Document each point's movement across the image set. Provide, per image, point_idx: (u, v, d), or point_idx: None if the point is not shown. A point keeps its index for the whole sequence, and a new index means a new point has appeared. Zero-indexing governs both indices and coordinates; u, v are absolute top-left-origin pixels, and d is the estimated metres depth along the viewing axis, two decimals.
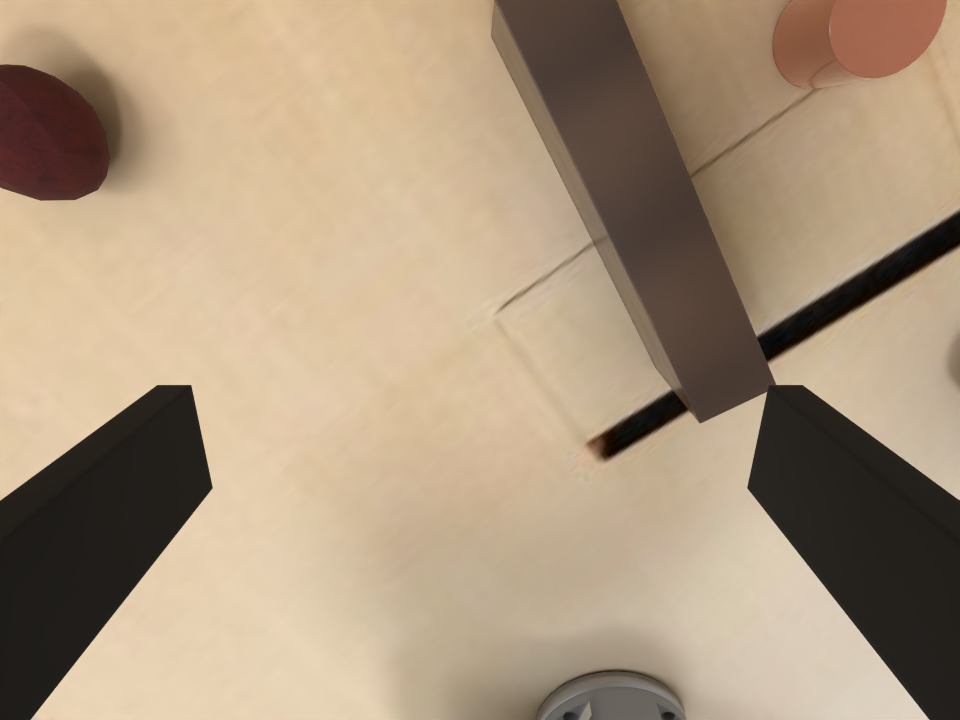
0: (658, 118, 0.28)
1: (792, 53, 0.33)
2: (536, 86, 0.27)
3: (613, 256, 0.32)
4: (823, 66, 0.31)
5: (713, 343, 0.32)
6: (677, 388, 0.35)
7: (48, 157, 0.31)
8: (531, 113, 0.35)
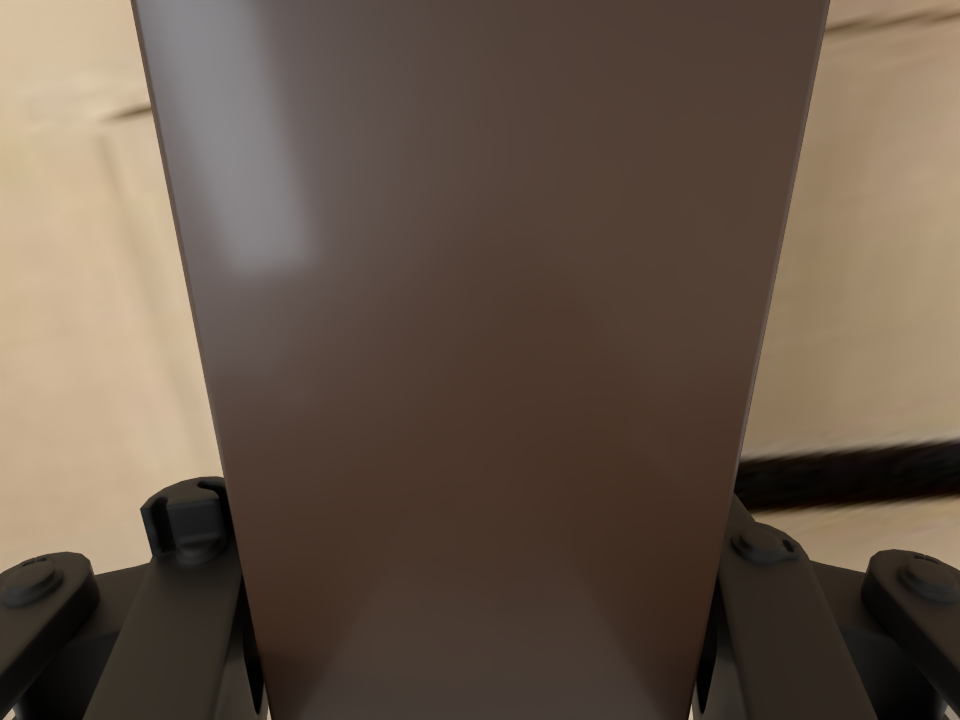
0: None
1: None
2: None
3: None
4: None
5: (497, 657, 0.06)
6: None
7: None
8: None
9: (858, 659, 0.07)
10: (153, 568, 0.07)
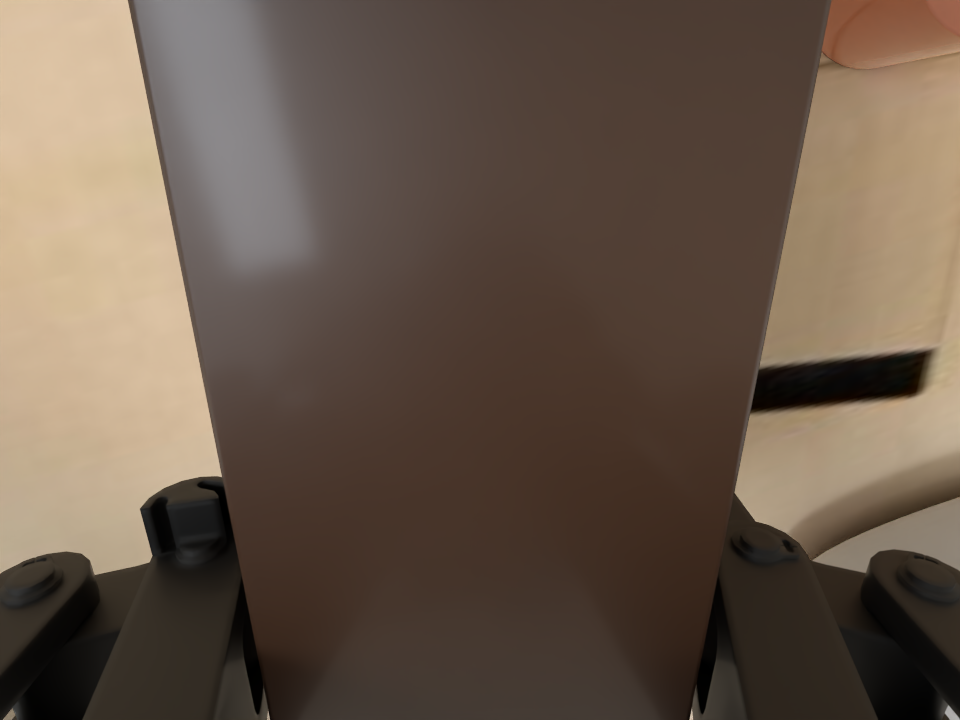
0: None
1: None
2: None
3: None
4: None
5: (498, 658, 0.06)
6: None
7: None
8: None
9: (858, 659, 0.07)
10: (153, 567, 0.07)
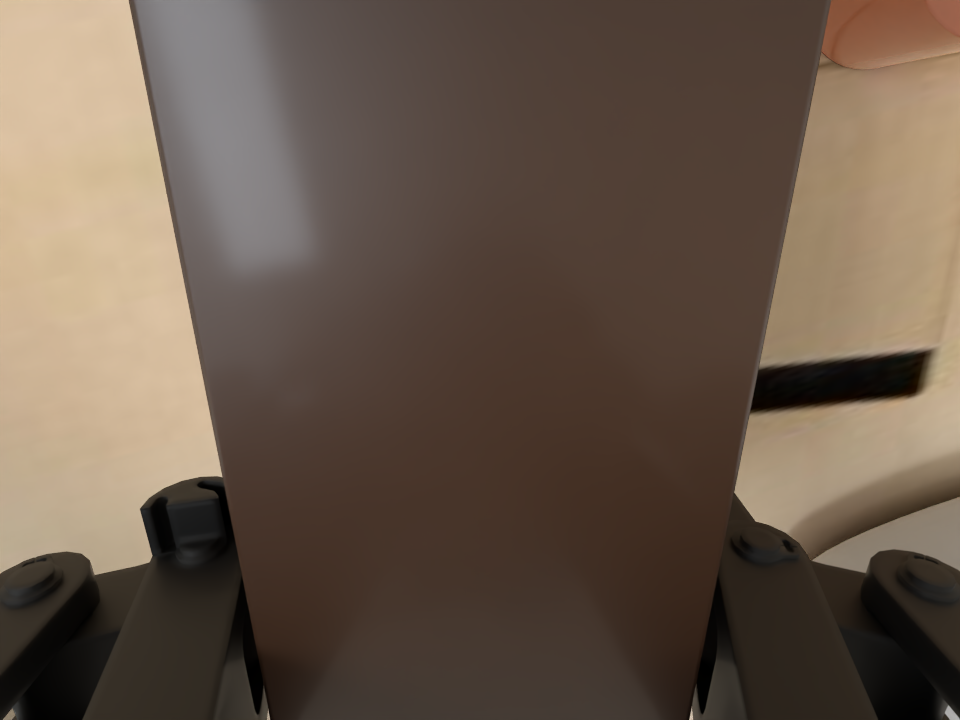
0: None
1: None
2: None
3: None
4: None
5: (497, 657, 0.06)
6: None
7: None
8: None
9: (858, 659, 0.07)
10: (153, 568, 0.07)
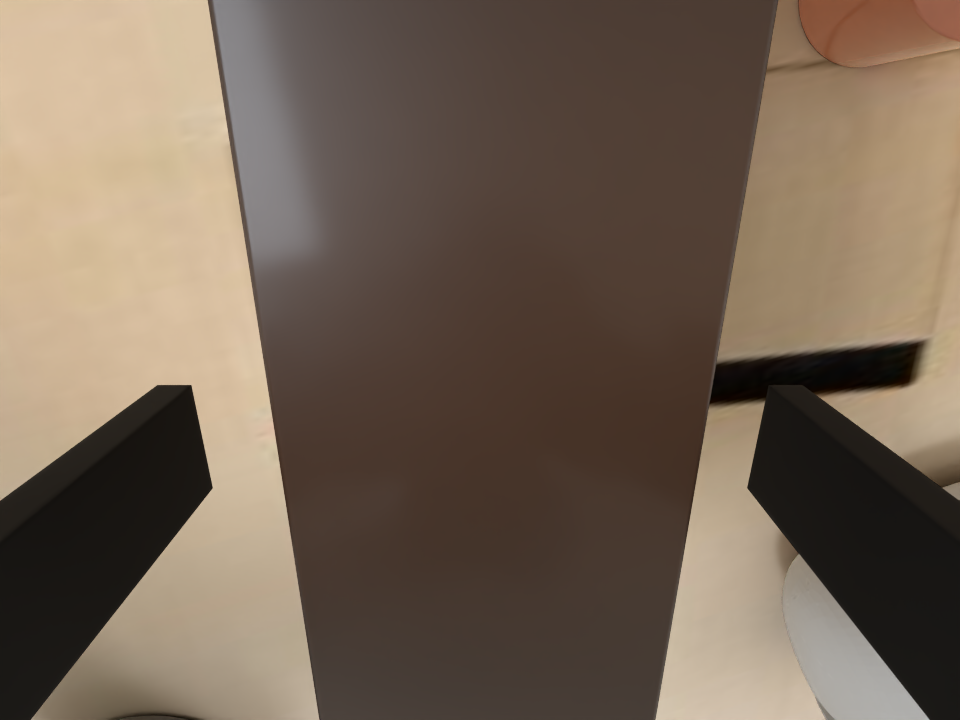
0: None
1: None
2: None
3: None
4: None
5: (503, 575, 0.07)
6: None
7: None
8: None
9: None
10: None
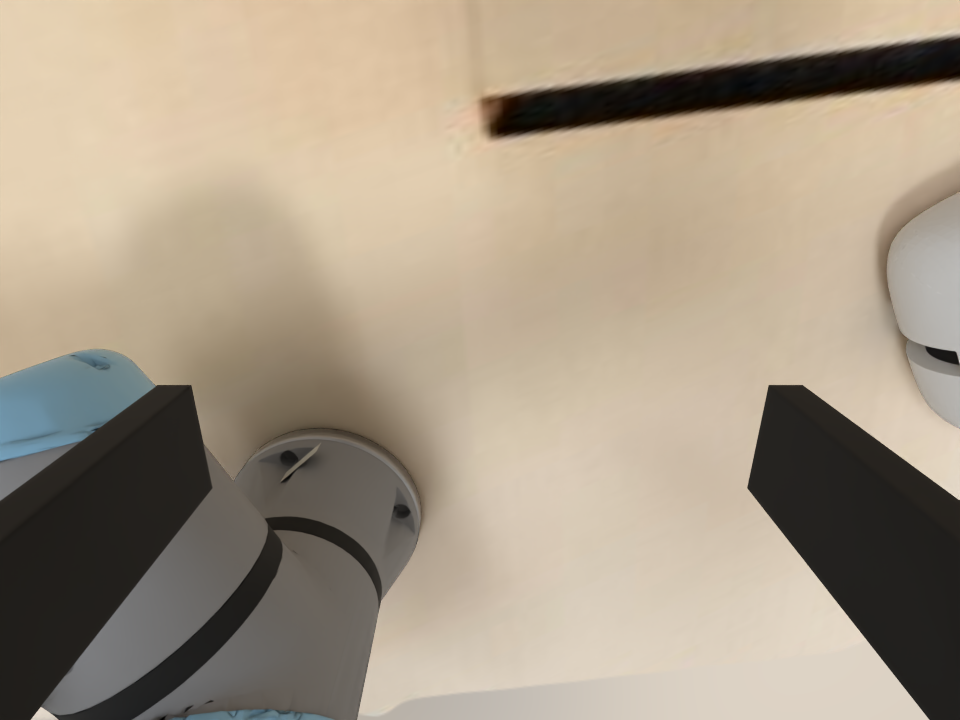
0: None
1: None
2: None
3: None
4: None
5: None
6: None
7: None
8: None
9: None
10: None
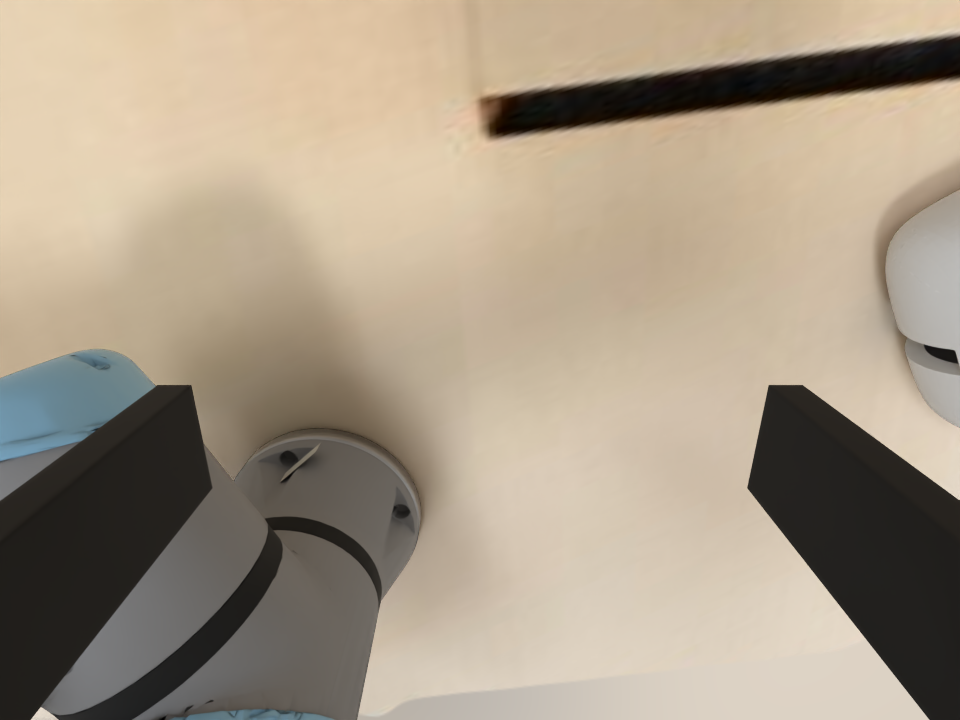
0: None
1: None
2: None
3: None
4: None
5: None
6: None
7: None
8: None
9: None
10: None
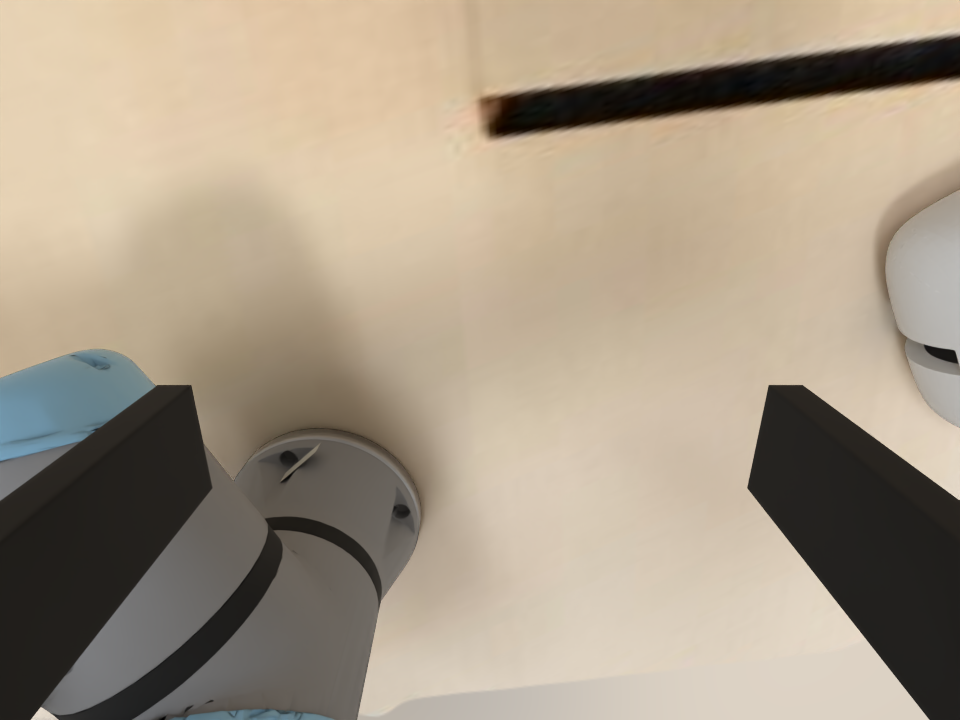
0: None
1: None
2: None
3: None
4: None
5: None
6: None
7: None
8: None
9: None
10: None
